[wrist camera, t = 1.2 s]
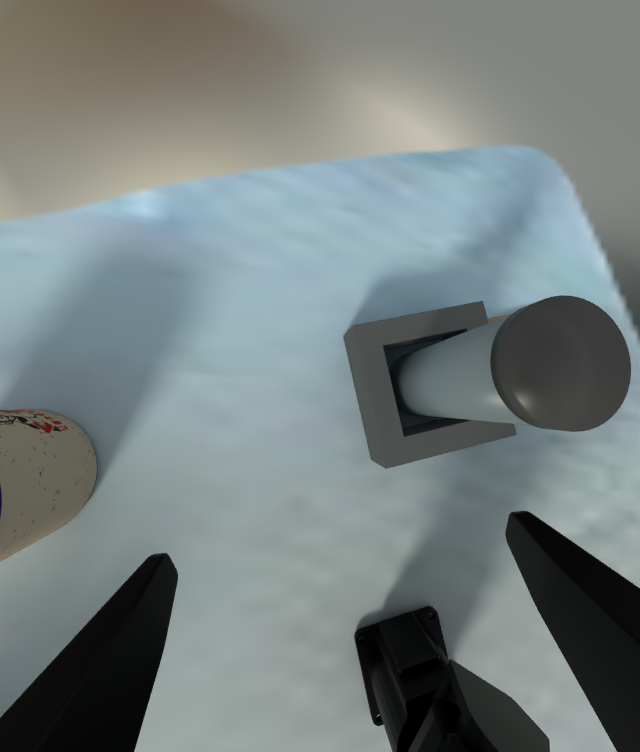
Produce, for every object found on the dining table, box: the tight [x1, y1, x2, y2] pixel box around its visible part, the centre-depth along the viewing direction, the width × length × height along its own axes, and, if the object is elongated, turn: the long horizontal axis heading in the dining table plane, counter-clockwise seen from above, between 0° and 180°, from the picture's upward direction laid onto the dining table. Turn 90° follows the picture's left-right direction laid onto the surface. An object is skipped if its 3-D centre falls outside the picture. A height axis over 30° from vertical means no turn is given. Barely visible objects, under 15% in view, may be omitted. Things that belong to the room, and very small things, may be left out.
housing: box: [343, 301, 516, 469], centre depth 24 cm, size 10×10×4 cm
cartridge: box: [389, 296, 631, 432], centre depth 19 cm, size 5×5×14 cm
